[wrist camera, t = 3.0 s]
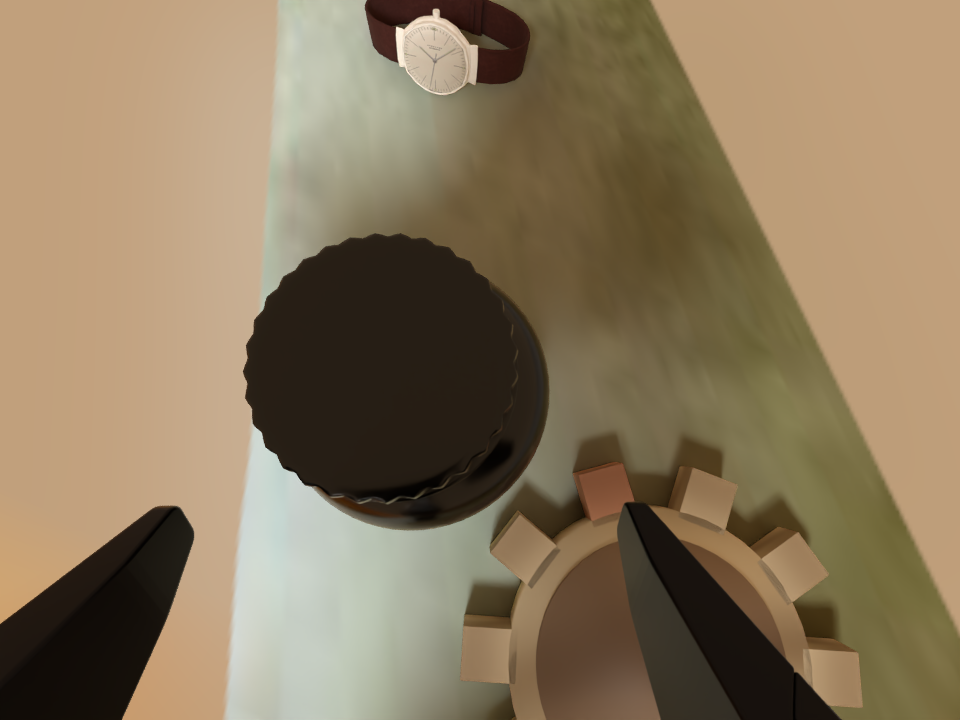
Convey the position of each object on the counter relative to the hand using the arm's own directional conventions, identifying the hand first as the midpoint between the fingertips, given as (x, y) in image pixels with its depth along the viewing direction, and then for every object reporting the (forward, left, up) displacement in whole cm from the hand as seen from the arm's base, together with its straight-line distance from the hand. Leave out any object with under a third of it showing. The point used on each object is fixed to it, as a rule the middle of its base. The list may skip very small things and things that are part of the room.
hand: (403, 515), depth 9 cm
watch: (+20, -5, -10) cm, 23 cm away
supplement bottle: (+3, -1, -10) cm, 10 cm away
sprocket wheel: (-8, -6, -10) cm, 14 cm away
